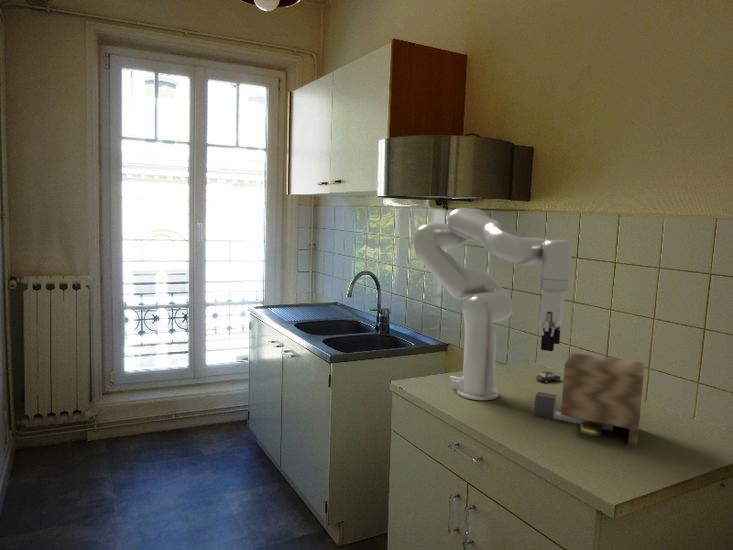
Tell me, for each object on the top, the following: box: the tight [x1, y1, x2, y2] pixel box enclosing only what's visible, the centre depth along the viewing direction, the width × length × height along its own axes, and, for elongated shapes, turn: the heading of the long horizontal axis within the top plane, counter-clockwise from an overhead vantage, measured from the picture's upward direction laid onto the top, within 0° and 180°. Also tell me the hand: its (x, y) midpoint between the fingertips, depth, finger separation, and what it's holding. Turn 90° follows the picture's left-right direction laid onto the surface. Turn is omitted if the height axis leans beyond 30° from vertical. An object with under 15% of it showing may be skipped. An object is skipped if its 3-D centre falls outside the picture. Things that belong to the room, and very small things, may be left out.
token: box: [579, 422, 602, 437], centre depth 141 cm, size 5×5×2 cm
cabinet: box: [560, 352, 646, 449], centre depth 141 cm, size 18×14×18 cm
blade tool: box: [533, 391, 614, 432], centre depth 147 cm, size 20×4×6 cm, turn 62°
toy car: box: [531, 360, 561, 383], centre depth 183 cm, size 4×12×8 cm, turn 113°
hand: (550, 346), depth 149 cm, fingers open, 9 cm apart
